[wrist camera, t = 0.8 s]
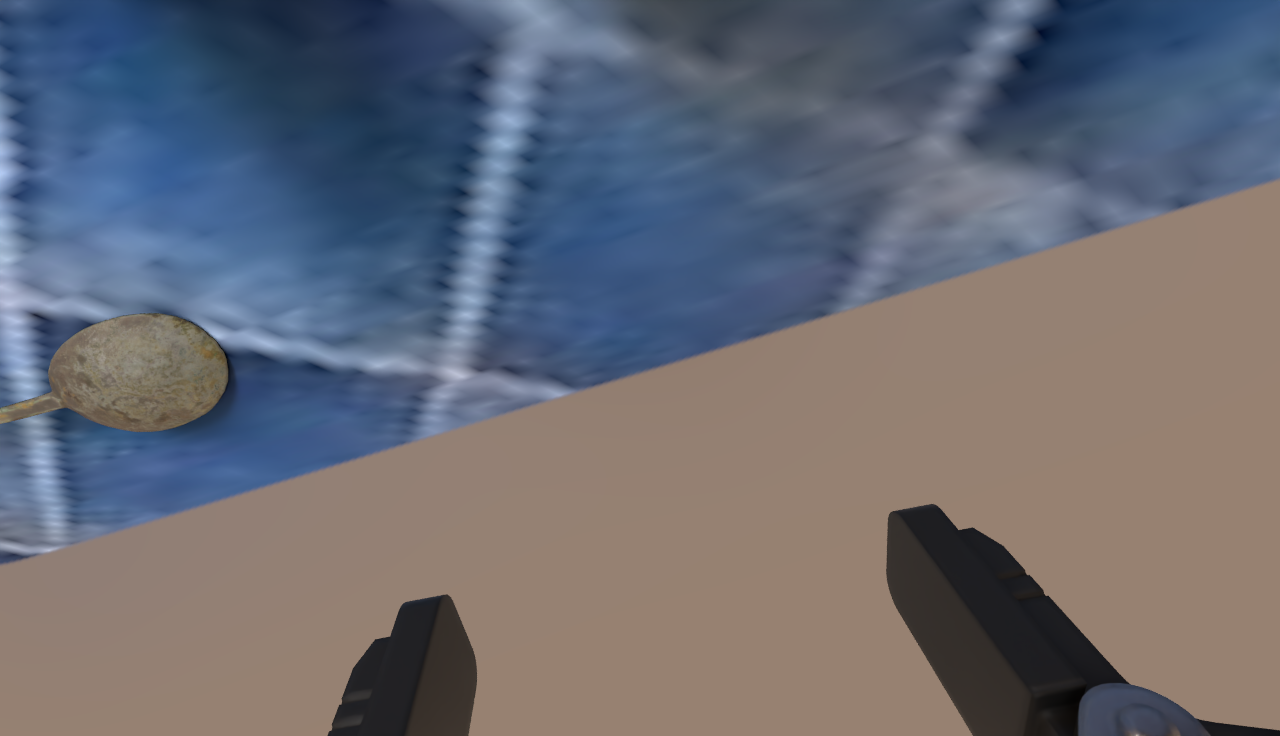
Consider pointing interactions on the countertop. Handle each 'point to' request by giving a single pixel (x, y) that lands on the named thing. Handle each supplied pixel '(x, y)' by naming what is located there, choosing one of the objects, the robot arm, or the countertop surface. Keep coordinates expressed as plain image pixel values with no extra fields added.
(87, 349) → the soupspoon
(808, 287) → the countertop surface
